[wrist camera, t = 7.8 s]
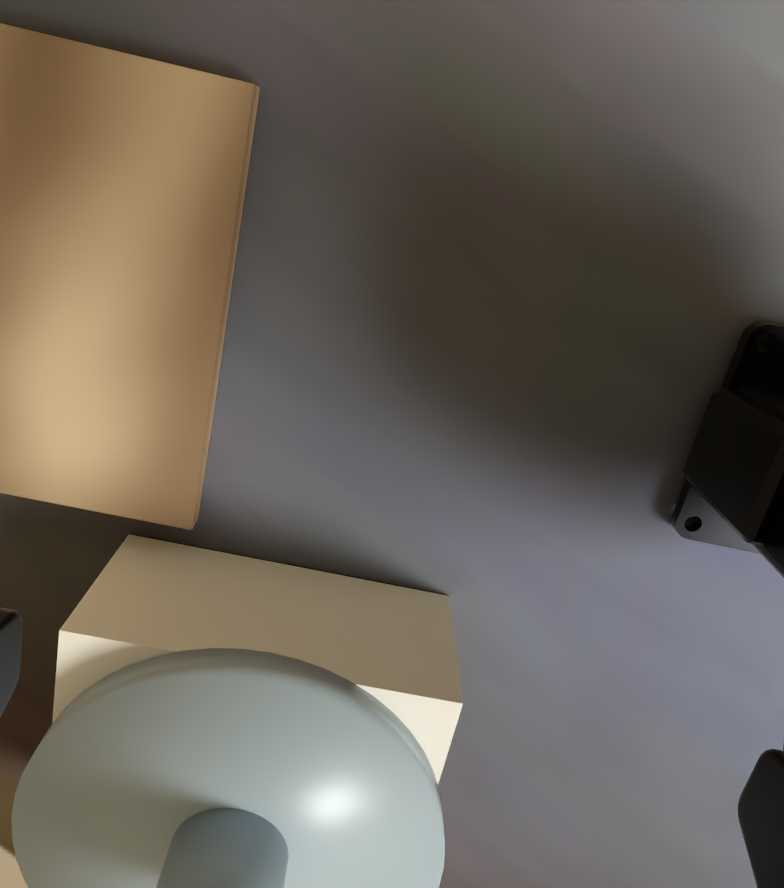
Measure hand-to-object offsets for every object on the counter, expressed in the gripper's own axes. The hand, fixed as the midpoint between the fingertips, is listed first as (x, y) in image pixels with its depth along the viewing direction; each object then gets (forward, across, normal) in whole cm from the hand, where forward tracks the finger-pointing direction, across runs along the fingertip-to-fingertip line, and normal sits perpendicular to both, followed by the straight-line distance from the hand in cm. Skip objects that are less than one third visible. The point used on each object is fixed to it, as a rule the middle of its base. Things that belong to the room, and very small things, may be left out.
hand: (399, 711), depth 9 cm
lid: (+8, +2, +11) cm, 14 cm away
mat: (+13, +11, -1) cm, 17 cm away
